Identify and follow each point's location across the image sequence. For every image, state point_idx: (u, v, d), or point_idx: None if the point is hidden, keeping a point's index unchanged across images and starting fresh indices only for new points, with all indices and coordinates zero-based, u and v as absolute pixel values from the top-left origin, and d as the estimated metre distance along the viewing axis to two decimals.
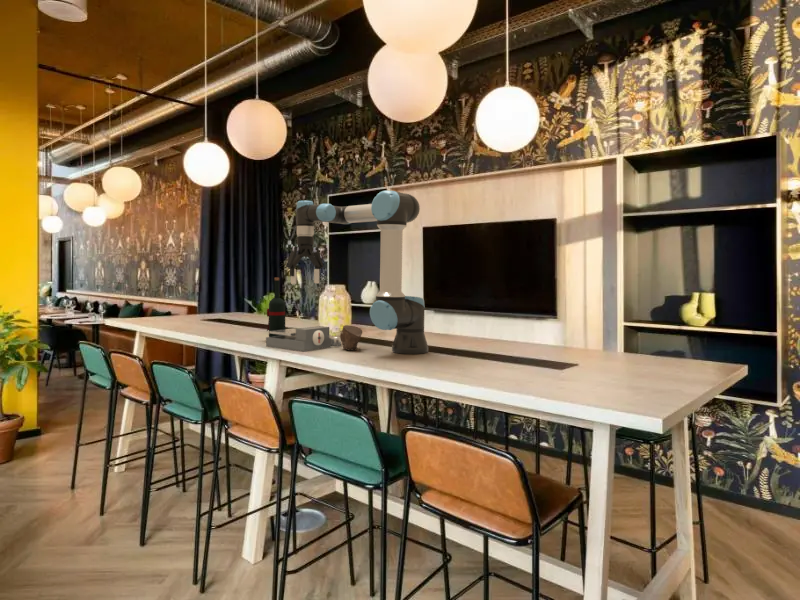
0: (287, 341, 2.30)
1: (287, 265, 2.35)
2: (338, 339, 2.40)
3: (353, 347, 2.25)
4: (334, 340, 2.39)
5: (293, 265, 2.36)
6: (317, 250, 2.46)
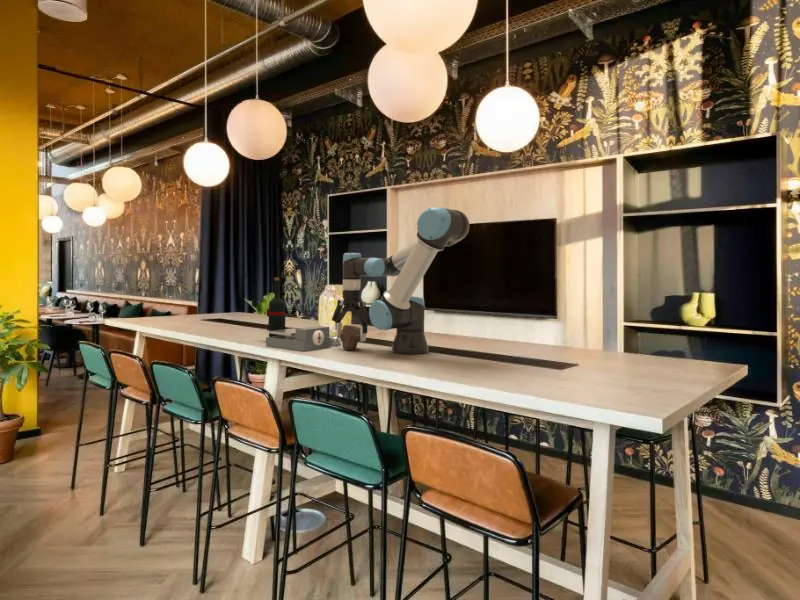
0: (287, 341, 2.30)
1: None
2: (338, 339, 2.40)
3: (353, 347, 2.25)
4: (334, 340, 2.39)
5: (335, 319, 2.33)
6: (360, 305, 2.24)
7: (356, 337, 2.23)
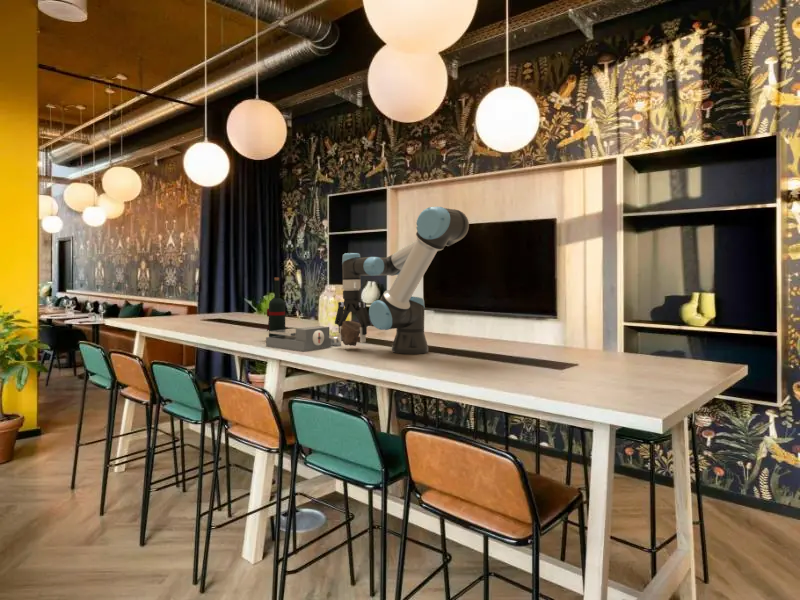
0: (287, 341, 2.30)
1: None
2: (338, 339, 2.40)
3: (353, 342, 2.25)
4: (334, 340, 2.39)
5: (338, 322, 2.32)
6: (361, 306, 2.24)
7: (355, 332, 2.23)
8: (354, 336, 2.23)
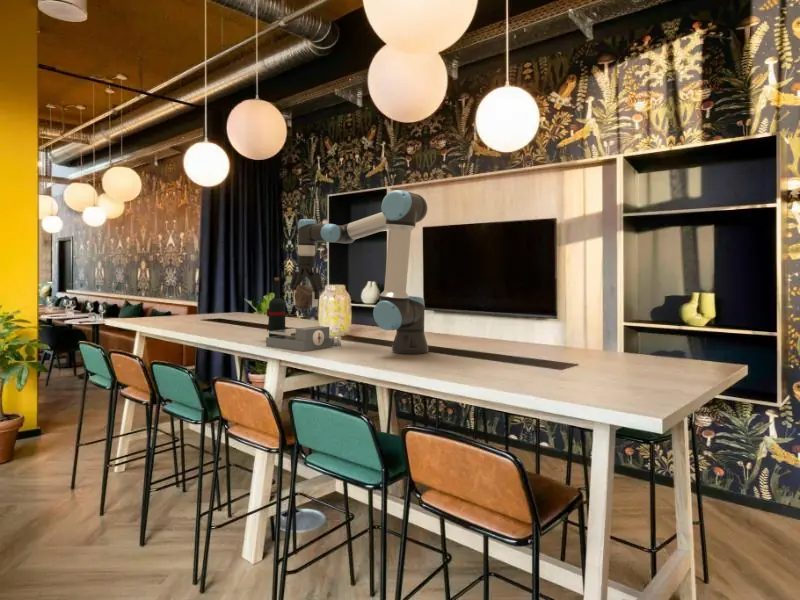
0: (287, 341, 2.30)
1: None
2: (338, 339, 2.40)
3: (305, 305, 2.33)
4: (334, 340, 2.39)
5: (293, 286, 2.39)
6: (314, 271, 2.31)
7: (308, 295, 2.30)
8: (306, 300, 2.31)
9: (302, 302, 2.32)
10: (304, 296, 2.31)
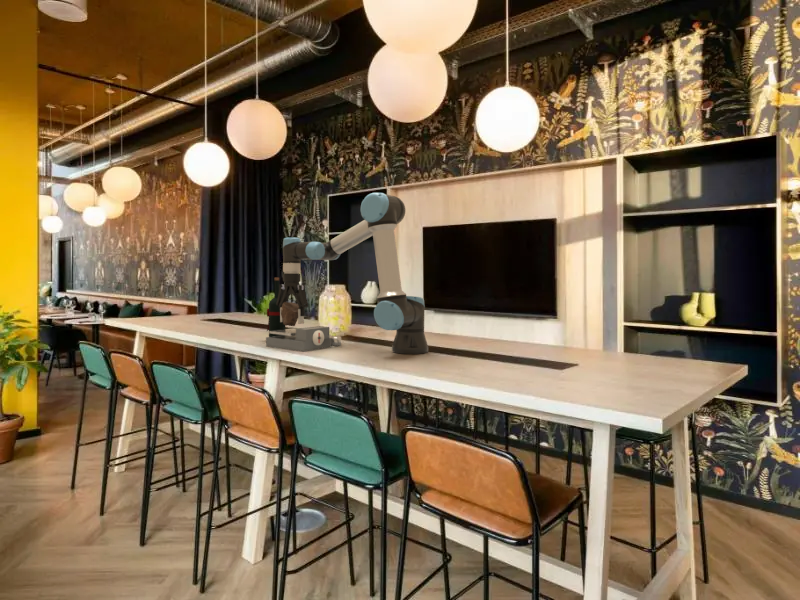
0: (287, 341, 2.30)
1: None
2: (338, 339, 2.40)
3: (291, 322, 2.35)
4: (334, 340, 2.39)
5: (279, 304, 2.42)
6: (299, 288, 2.34)
7: (293, 313, 2.33)
8: (292, 317, 2.34)
9: (288, 319, 2.35)
10: (290, 313, 2.34)
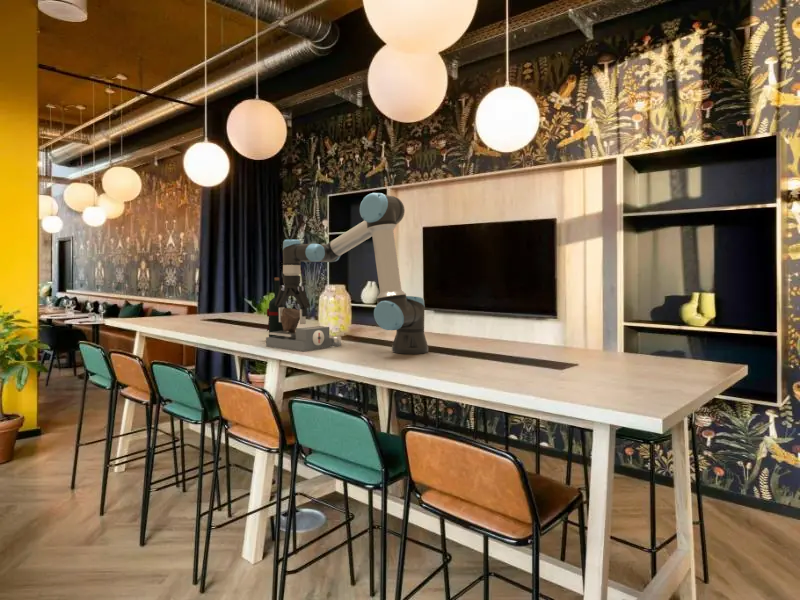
0: (287, 341, 2.30)
1: None
2: (338, 339, 2.40)
3: (291, 329, 2.35)
4: (334, 340, 2.39)
5: (278, 304, 2.43)
6: (299, 289, 2.34)
7: (293, 319, 2.33)
8: (292, 323, 2.34)
9: (288, 325, 2.35)
10: (290, 319, 2.34)
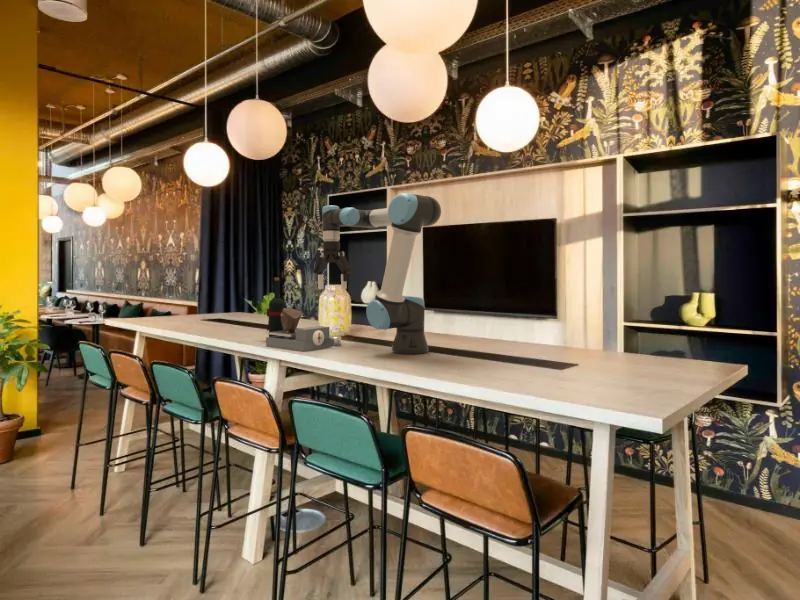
0: (287, 341, 2.30)
1: None
2: (338, 339, 2.40)
3: (291, 329, 2.35)
4: (334, 340, 2.39)
5: (317, 271, 2.44)
6: (340, 254, 2.35)
7: (293, 319, 2.33)
8: (292, 323, 2.34)
9: (288, 325, 2.35)
10: (290, 319, 2.34)
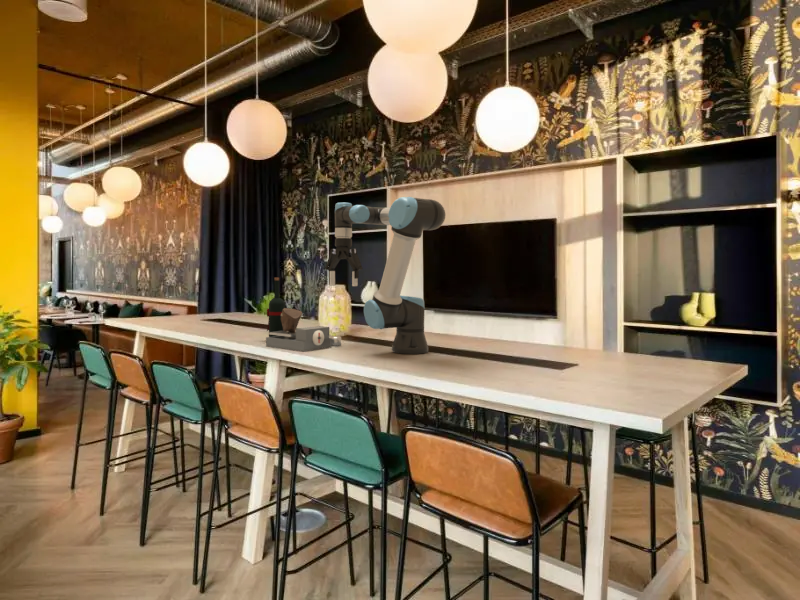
0: (287, 341, 2.30)
1: None
2: (338, 339, 2.40)
3: (291, 329, 2.35)
4: (334, 340, 2.39)
5: (329, 267, 2.45)
6: (352, 251, 2.36)
7: (293, 319, 2.33)
8: (292, 323, 2.34)
9: (288, 325, 2.35)
10: (290, 319, 2.34)
